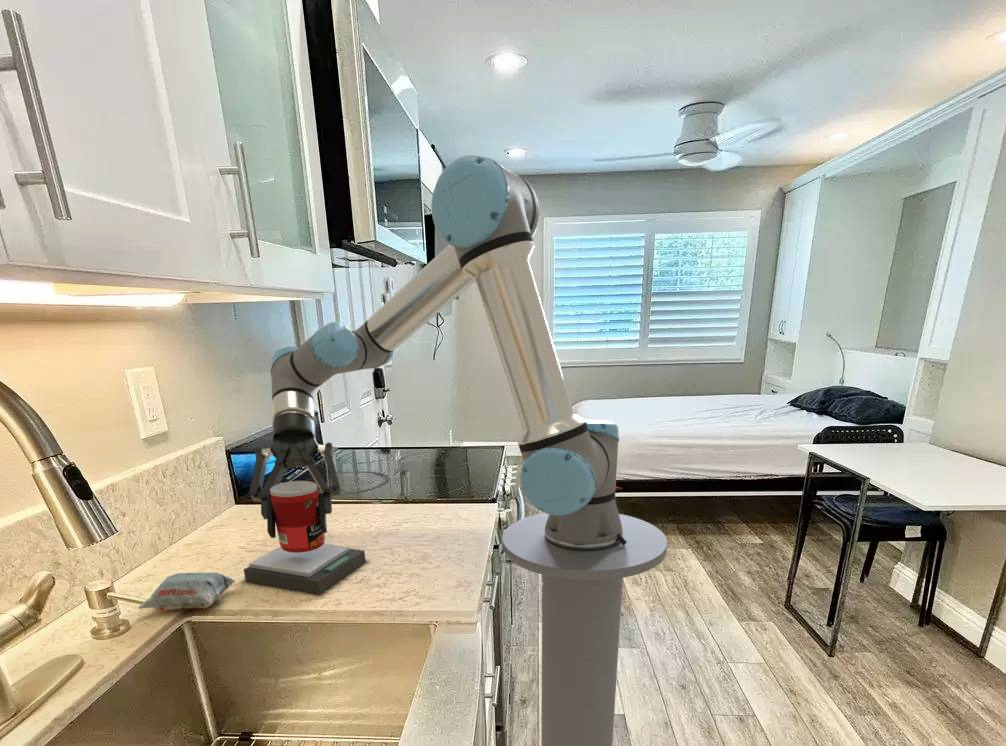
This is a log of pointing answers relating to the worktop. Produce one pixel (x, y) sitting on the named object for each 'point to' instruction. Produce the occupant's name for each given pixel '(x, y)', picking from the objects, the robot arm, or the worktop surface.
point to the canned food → (297, 516)
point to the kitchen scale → (305, 568)
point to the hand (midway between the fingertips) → (297, 532)
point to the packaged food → (188, 591)
